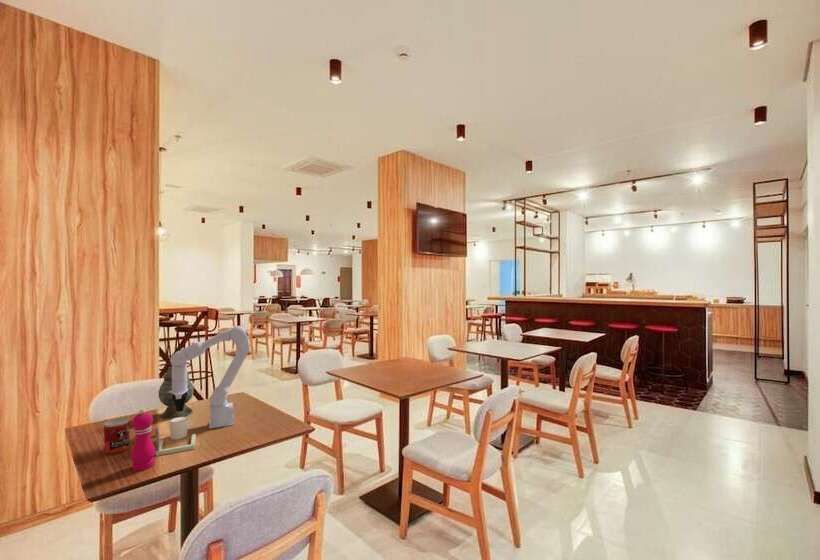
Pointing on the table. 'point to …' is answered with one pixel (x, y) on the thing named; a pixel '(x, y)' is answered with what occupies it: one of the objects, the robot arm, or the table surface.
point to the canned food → (116, 435)
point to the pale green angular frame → (171, 450)
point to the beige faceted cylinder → (178, 427)
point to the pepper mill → (142, 442)
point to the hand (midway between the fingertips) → (180, 411)
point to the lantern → (168, 401)
